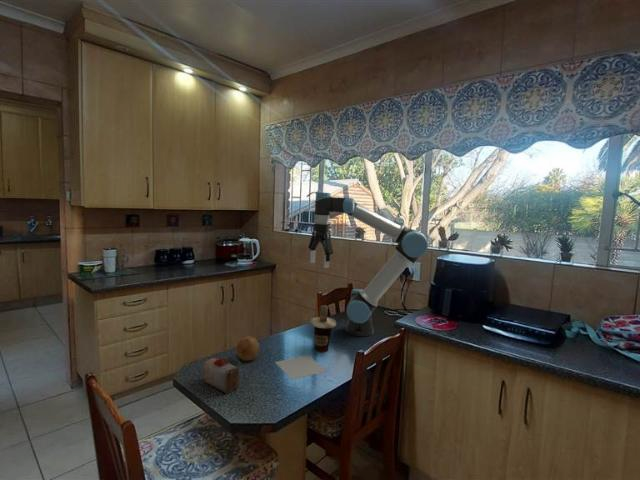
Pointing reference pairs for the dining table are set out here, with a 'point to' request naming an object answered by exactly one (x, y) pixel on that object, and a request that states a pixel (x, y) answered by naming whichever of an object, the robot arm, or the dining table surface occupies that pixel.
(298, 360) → the mat
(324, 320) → the lid
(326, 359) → the dining table surface
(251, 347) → the onion
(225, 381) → the food item
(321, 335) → the coffee cup
